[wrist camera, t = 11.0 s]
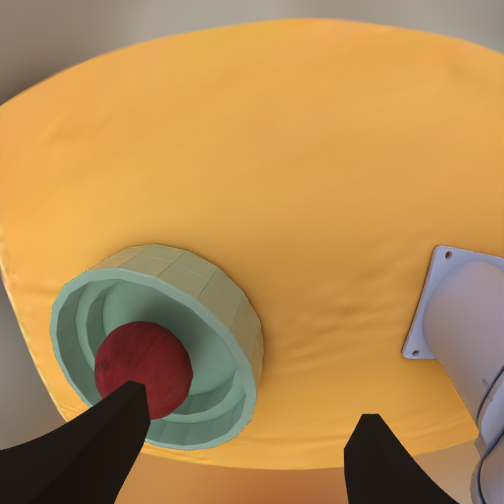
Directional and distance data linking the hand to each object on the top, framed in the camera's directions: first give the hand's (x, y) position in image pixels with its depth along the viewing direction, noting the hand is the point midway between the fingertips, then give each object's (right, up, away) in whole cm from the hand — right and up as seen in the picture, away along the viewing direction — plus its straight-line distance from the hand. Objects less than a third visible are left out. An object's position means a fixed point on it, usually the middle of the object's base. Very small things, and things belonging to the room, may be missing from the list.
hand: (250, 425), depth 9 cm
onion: (-6, 0, +11) cm, 12 cm away
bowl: (-6, 0, +11) cm, 12 cm away
